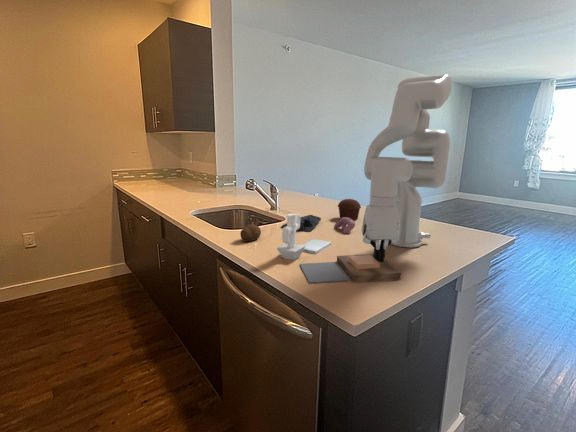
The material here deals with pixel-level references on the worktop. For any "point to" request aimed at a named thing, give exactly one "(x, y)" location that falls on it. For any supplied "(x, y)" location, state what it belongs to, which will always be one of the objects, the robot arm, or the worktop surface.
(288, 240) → the figurine
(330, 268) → the mat
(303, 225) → the dark slate chunk
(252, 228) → the potato
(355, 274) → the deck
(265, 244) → the worktop surface
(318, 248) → the hard drive
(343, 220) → the purple crystal rock
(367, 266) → the tile
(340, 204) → the muffin
